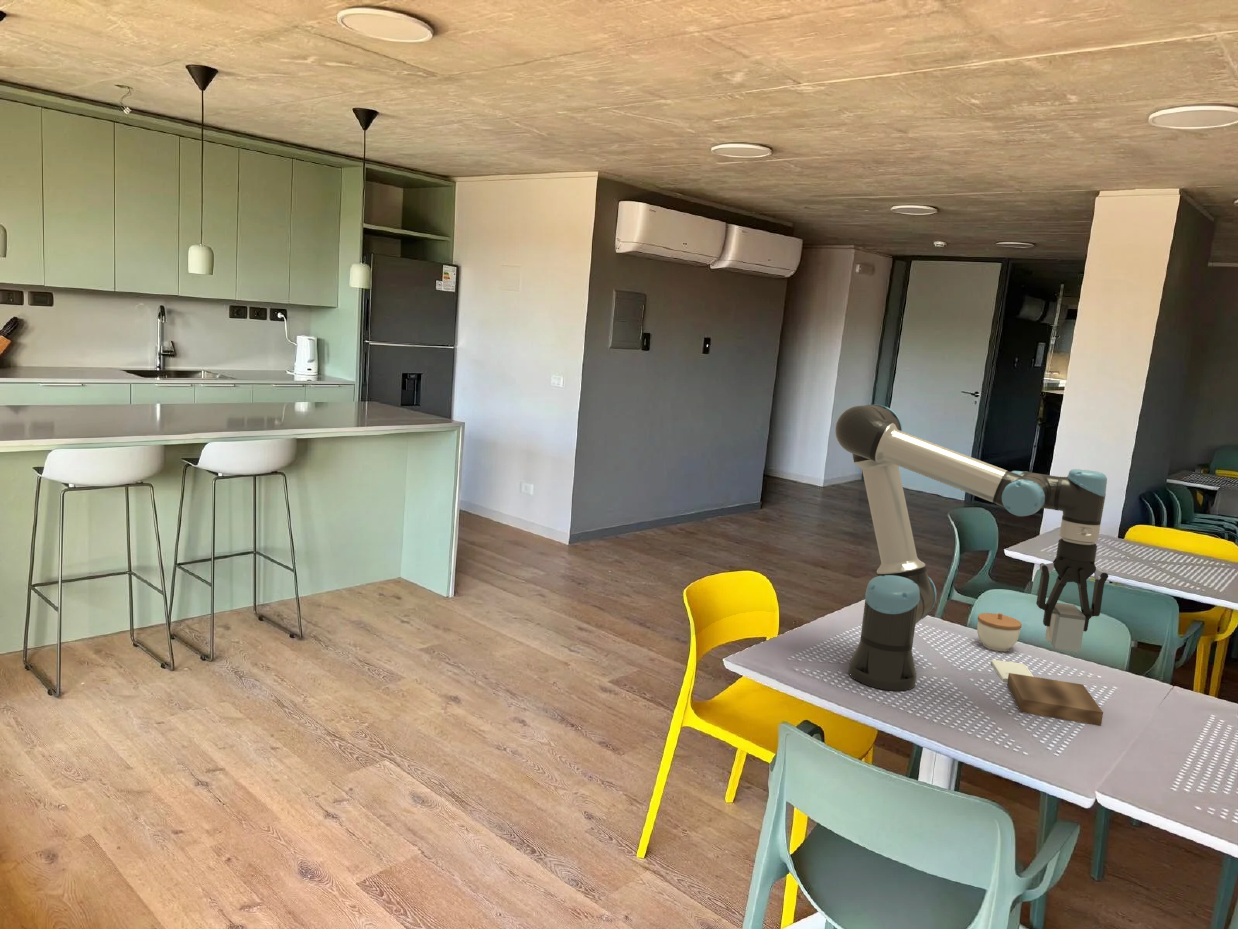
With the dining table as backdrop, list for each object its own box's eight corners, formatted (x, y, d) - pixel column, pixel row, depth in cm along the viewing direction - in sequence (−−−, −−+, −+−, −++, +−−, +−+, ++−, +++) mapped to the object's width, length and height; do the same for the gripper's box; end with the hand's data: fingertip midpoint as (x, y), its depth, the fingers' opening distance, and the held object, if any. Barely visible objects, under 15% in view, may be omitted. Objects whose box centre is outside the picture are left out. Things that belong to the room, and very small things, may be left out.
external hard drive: (1024, 670, 215) (1038, 689, 202) (990, 665, 216) (1002, 684, 204) (1025, 664, 214) (1039, 682, 202) (991, 659, 216) (1003, 677, 204)
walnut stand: (1020, 712, 187) (1022, 699, 186) (1007, 685, 202) (1008, 672, 202) (1100, 725, 183) (1103, 712, 182) (1080, 696, 198) (1082, 684, 198)
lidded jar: (965, 641, 231) (970, 608, 230) (993, 638, 235) (998, 606, 234) (997, 656, 221) (1002, 621, 220) (1026, 652, 226) (1031, 618, 225)
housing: (1055, 648, 186) (1060, 613, 185) (1045, 635, 195) (1050, 601, 194) (1080, 652, 185) (1085, 616, 184) (1069, 639, 194) (1074, 605, 193)
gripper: (1037, 539, 185) (1022, 641, 189) (1129, 549, 181) (1112, 654, 184) (1030, 532, 192) (1015, 630, 196) (1118, 542, 188) (1102, 643, 192)
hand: (1062, 642), depth 190 cm, fingers closed on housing, 5 cm apart
